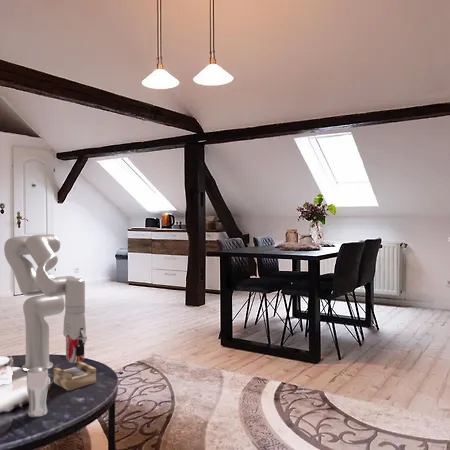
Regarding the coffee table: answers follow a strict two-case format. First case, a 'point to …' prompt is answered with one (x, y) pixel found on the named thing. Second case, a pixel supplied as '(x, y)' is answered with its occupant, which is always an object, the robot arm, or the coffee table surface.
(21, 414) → the coffee table surface
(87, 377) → the pedestal
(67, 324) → the robot arm
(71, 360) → the soda can
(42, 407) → the beer glass
